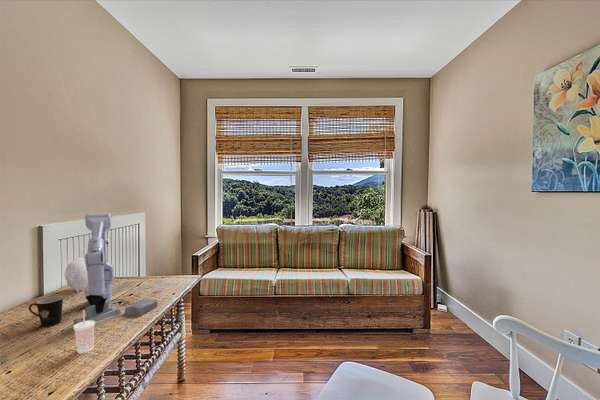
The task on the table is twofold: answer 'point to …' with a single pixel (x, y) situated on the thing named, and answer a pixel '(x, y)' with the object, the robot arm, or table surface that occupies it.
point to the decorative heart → (76, 274)
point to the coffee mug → (49, 310)
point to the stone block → (141, 307)
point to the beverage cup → (84, 335)
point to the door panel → (92, 310)
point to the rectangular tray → (101, 316)
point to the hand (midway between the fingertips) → (97, 312)
